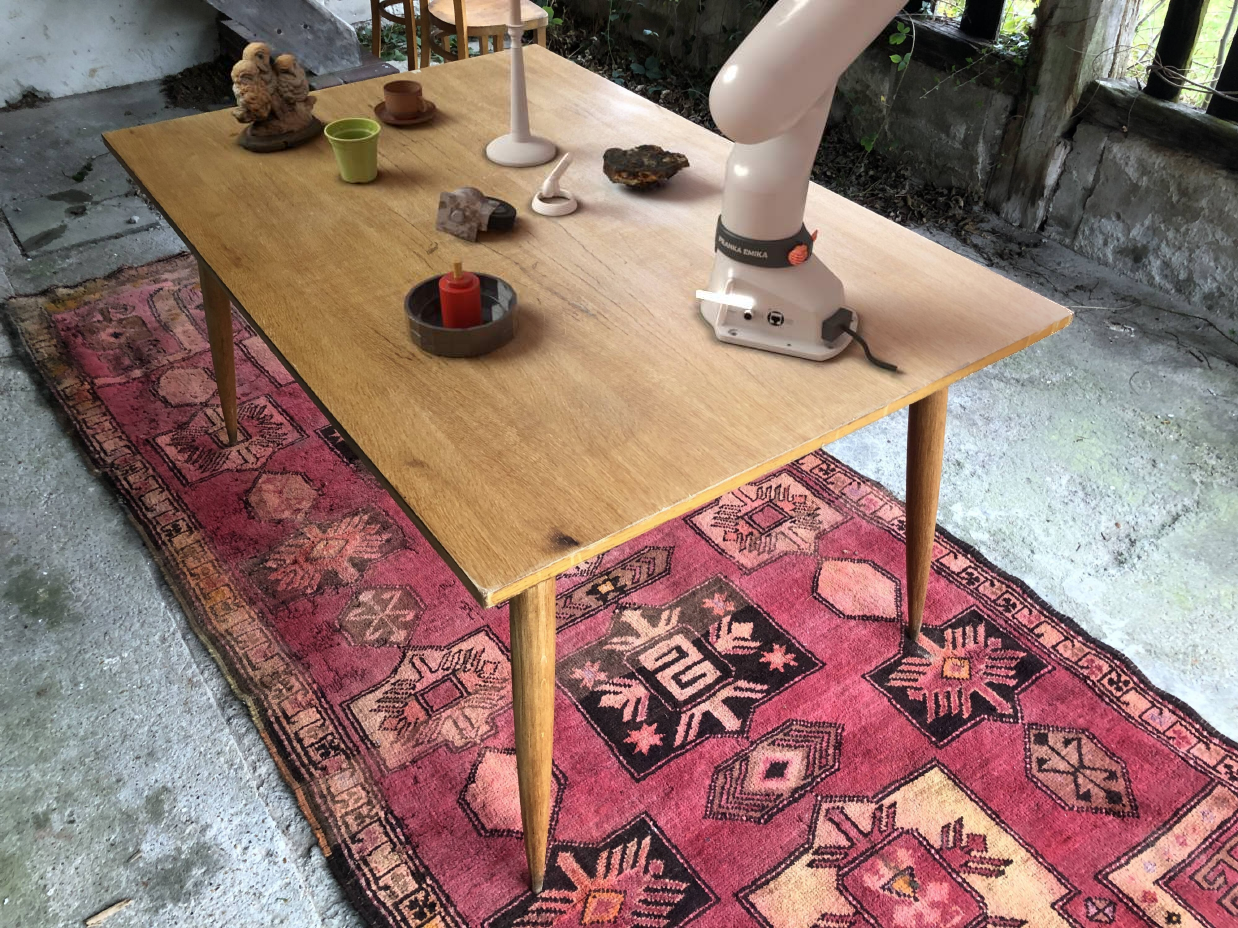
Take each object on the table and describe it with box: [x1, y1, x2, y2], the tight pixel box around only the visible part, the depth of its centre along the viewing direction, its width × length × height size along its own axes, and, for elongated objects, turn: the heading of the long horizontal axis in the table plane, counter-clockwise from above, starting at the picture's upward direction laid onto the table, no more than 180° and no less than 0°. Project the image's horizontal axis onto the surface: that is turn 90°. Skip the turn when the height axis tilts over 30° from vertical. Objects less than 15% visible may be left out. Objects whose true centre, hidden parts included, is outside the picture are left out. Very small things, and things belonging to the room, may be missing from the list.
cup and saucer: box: [373, 79, 437, 126], centre depth 191 cm, size 12×12×6 cm
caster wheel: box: [434, 186, 518, 243], centre depth 158 cm, size 7×11×10 cm
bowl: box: [403, 271, 519, 358], centre depth 135 cm, size 15×15×5 cm
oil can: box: [439, 258, 483, 329], centre depth 132 cm, size 5×5×10 cm
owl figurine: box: [230, 42, 323, 153], centre depth 179 cm, size 18×12×17 cm, turn 148°
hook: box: [531, 152, 578, 217], centre depth 163 cm, size 8×12×7 cm
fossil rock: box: [602, 143, 691, 193], centre depth 171 cm, size 14×14×6 cm
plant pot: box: [323, 117, 382, 184], centre depth 170 cm, size 9×9×9 cm
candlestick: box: [486, 0, 557, 168], centre depth 172 cm, size 13×13×30 cm
